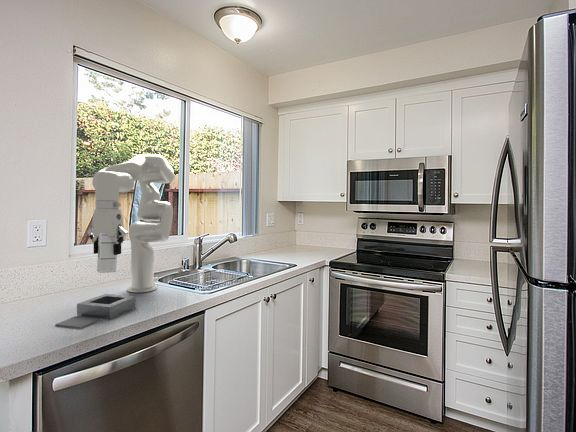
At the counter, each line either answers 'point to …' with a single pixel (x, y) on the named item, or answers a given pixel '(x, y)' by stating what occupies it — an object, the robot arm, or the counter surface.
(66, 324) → the charcoal mat
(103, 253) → the syrup box
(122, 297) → the gray square frame
